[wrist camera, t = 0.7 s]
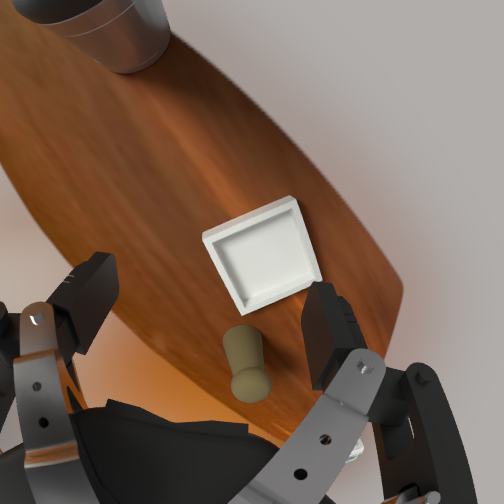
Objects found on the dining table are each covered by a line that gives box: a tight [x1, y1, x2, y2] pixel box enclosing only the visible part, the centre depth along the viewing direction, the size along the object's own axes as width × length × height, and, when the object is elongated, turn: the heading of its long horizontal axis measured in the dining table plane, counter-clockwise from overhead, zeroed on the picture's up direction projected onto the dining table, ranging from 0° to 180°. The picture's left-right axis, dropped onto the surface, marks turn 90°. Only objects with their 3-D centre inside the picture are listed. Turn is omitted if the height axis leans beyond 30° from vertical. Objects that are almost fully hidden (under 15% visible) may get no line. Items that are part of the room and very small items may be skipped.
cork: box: [223, 325, 272, 403], centre depth 36 cm, size 6×6×11 cm
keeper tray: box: [202, 195, 322, 315], centre depth 35 cm, size 12×12×3 cm
